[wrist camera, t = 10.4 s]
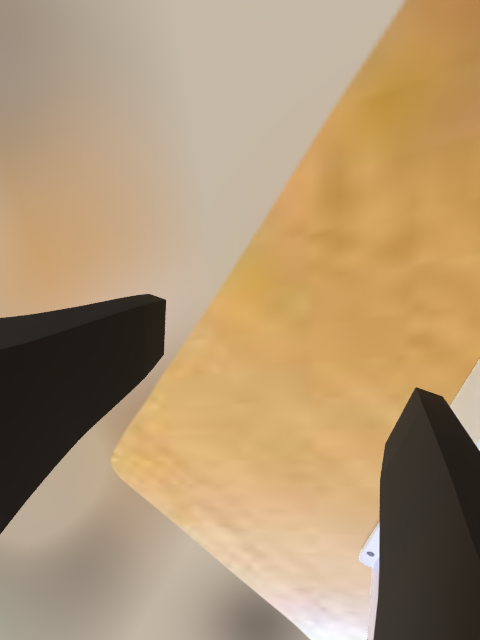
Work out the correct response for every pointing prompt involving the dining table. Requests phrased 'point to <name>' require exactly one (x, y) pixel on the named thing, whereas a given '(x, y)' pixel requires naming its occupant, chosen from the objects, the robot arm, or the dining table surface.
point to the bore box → (469, 405)
